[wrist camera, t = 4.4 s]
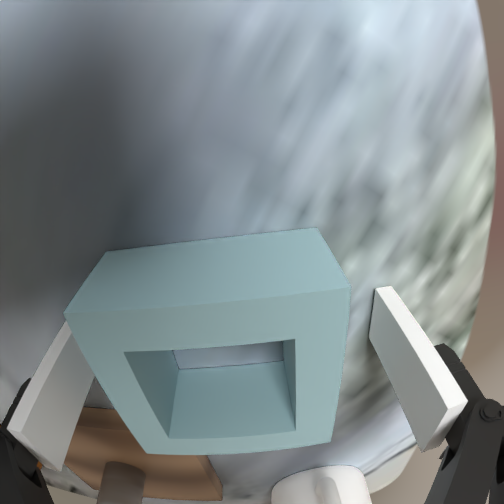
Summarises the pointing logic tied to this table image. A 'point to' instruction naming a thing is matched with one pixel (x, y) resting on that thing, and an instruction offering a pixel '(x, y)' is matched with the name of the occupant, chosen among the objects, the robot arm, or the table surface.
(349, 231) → the table surface
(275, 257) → the ring
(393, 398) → the table surface
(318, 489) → the cup
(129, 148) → the table surface
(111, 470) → the post block
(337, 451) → the table surface
